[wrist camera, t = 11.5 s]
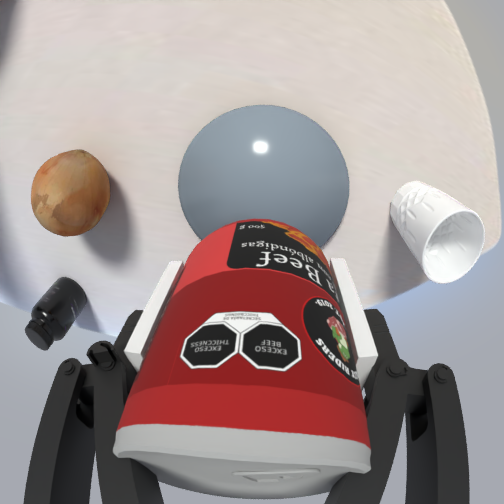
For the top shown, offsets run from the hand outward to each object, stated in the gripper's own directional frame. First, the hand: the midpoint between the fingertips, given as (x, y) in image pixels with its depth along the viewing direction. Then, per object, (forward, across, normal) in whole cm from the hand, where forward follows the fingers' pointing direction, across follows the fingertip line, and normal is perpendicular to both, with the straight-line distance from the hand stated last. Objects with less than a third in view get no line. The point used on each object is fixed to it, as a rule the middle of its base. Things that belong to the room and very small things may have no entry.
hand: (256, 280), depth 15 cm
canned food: (0, 0, 0) cm, 0 cm away
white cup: (+17, +18, -2) cm, 25 cm away
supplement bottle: (+16, -33, -15) cm, 40 cm away
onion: (+16, -21, +3) cm, 27 cm away
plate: (+16, 0, 0) cm, 16 cm away
